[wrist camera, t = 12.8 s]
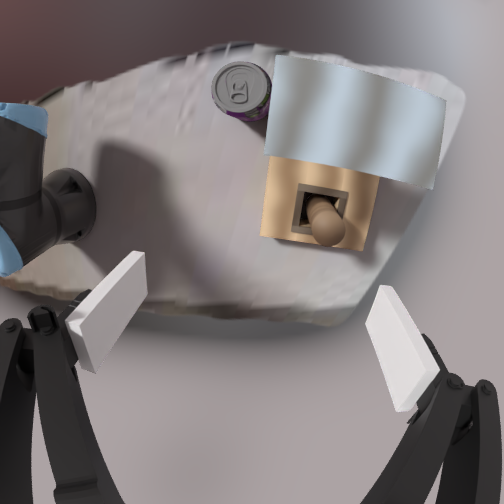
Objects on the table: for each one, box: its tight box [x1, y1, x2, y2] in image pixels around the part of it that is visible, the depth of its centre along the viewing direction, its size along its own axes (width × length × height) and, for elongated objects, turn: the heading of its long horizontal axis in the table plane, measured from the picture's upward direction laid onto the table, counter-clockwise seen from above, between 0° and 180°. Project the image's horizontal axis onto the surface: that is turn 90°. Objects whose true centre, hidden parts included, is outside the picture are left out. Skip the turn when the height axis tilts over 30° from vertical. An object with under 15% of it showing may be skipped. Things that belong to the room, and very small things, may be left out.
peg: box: [305, 193, 346, 247], centre depth 38 cm, size 4×4×12 cm
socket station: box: [260, 55, 446, 251], centre depth 32 cm, size 16×22×20 cm
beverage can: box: [212, 62, 272, 121], centre depth 32 cm, size 7×7×12 cm
